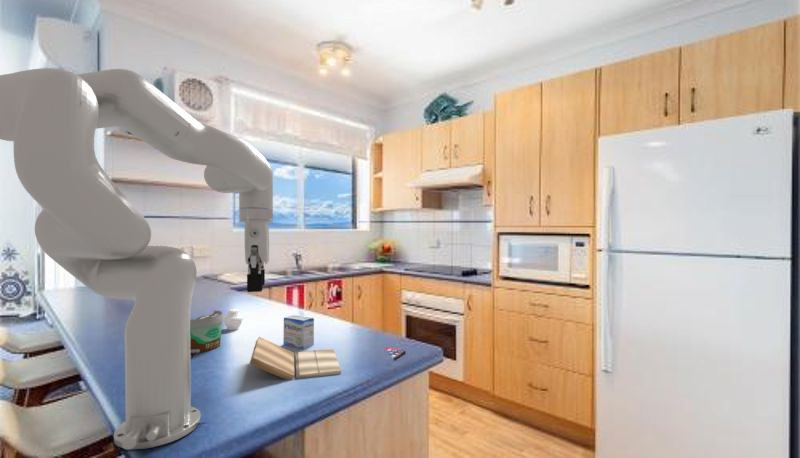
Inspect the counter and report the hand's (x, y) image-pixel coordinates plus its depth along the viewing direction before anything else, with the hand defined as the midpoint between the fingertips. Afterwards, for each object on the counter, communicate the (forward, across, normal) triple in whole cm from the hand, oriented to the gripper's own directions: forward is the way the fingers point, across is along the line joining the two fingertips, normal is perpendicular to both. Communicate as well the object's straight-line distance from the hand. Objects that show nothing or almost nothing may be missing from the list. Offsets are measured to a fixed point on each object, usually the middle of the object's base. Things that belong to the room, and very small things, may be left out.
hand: (256, 288), depth 90 cm
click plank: (+18, 0, -4) cm, 18 cm away
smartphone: (+21, 0, -31) cm, 37 cm away
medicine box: (+20, +17, -10) cm, 28 cm away
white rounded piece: (+20, +43, +10) cm, 49 cm away
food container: (+20, +21, +14) cm, 32 cm away
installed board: (+20, 0, -14) cm, 25 cm away
